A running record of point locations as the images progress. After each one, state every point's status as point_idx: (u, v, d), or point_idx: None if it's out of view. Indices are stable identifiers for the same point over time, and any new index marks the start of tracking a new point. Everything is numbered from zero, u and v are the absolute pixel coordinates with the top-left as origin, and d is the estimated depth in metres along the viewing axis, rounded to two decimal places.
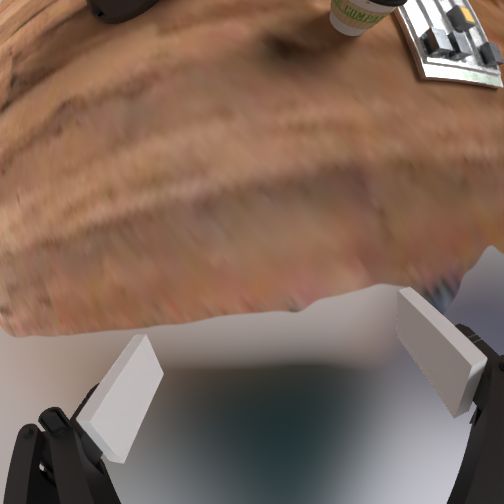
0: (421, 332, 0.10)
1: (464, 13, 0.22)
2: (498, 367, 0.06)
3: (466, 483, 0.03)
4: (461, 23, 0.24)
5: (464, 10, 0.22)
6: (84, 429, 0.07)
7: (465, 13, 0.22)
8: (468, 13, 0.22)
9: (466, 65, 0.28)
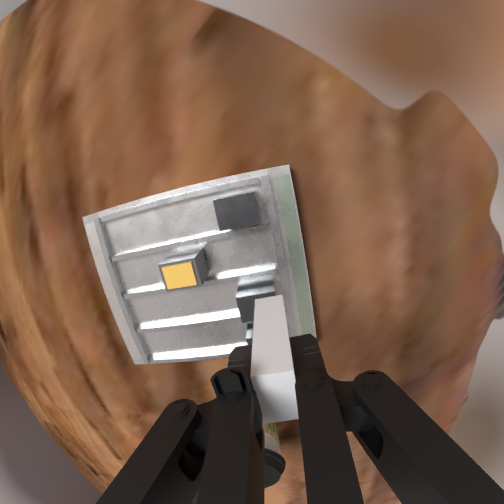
0: None
1: (179, 281, 0.28)
2: (302, 387, 0.08)
3: None
4: None
5: (172, 280, 0.28)
6: (255, 388, 0.09)
7: (180, 282, 0.28)
8: (174, 272, 0.27)
9: (284, 276, 0.31)
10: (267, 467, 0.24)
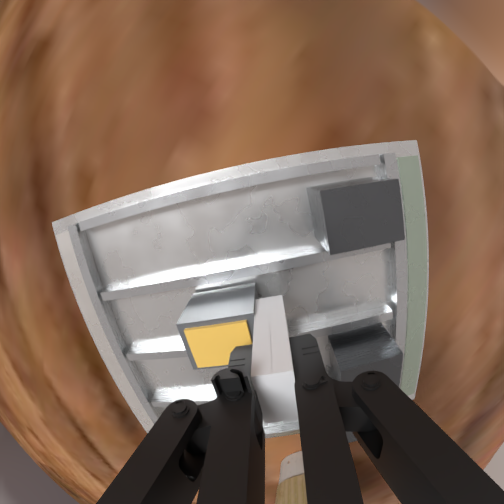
0: None
1: (220, 353, 0.14)
2: (301, 387, 0.08)
3: None
4: None
5: (206, 353, 0.14)
6: (255, 388, 0.09)
7: (223, 357, 0.14)
8: (211, 339, 0.14)
9: (402, 321, 0.17)
10: None
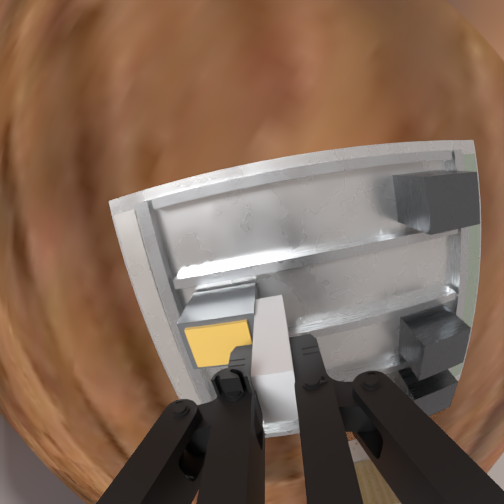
0: None
1: (220, 353, 0.14)
2: (301, 387, 0.08)
3: None
4: None
5: (207, 353, 0.14)
6: (255, 388, 0.09)
7: (224, 357, 0.14)
8: (211, 339, 0.14)
9: (461, 302, 0.16)
10: None
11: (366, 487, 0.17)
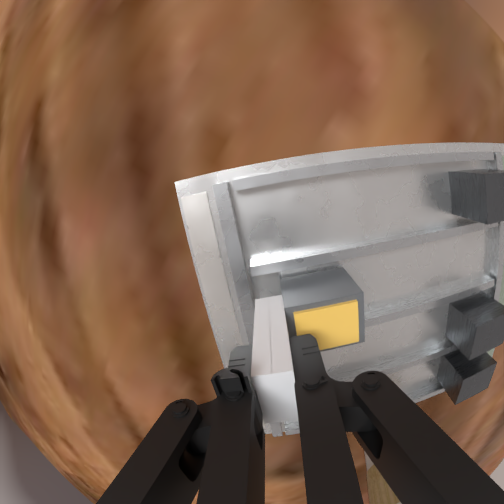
0: None
1: (324, 337, 0.14)
2: (301, 387, 0.08)
3: None
4: None
5: None
6: (255, 388, 0.09)
7: (329, 340, 0.13)
8: (320, 322, 0.13)
9: (498, 289, 0.16)
10: None
11: None
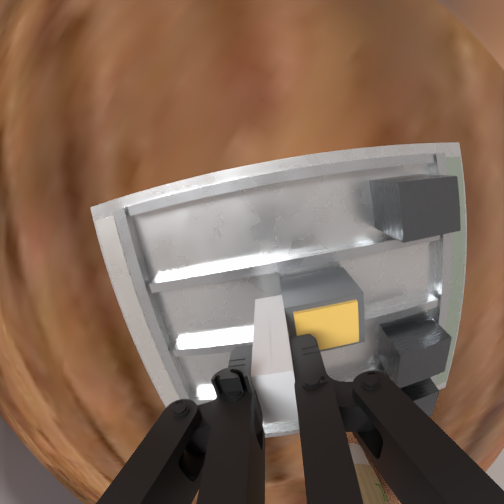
0: None
1: (324, 336, 0.14)
2: (301, 387, 0.08)
3: None
4: None
5: None
6: (255, 388, 0.09)
7: (329, 340, 0.13)
8: (320, 321, 0.13)
9: (444, 309, 0.17)
10: None
11: None
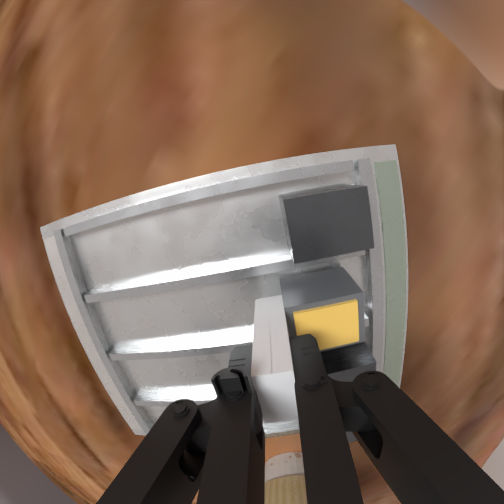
0: None
1: (324, 336, 0.14)
2: (301, 387, 0.08)
3: None
4: None
5: None
6: (255, 388, 0.09)
7: (329, 340, 0.13)
8: (320, 321, 0.13)
9: (379, 329, 0.17)
10: None
11: (288, 502, 0.18)
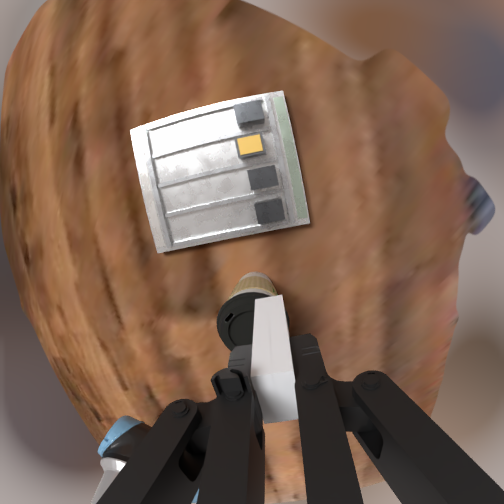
0: None
1: (249, 148, 0.38)
2: (301, 387, 0.08)
3: None
4: (264, 153, 0.39)
5: (244, 147, 0.38)
6: (255, 388, 0.09)
7: (251, 149, 0.38)
8: (246, 141, 0.37)
9: (281, 162, 0.41)
10: None
11: (247, 283, 0.42)
